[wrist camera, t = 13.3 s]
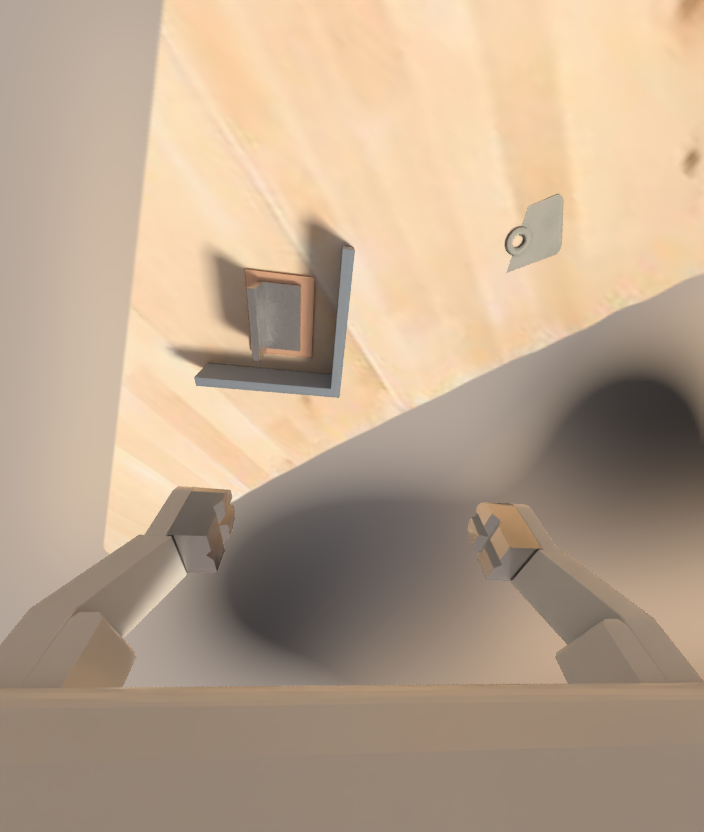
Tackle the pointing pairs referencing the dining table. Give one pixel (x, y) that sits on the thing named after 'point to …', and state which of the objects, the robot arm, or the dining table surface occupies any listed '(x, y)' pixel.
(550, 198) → the mounting bracket
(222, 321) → the dining table surface
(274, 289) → the angle bracket
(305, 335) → the mat
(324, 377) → the grey l-shaped piece
